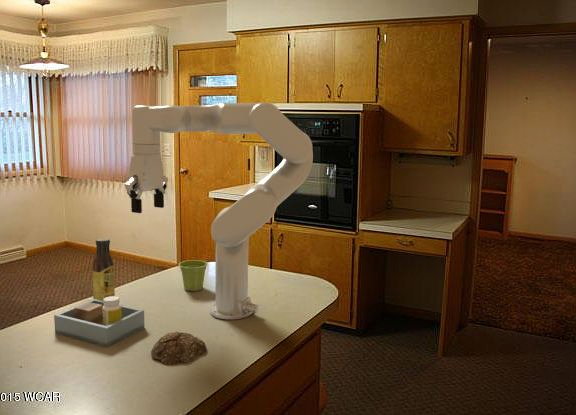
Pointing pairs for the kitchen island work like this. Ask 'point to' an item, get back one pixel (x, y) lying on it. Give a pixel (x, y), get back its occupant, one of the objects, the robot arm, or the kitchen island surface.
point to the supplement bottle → (111, 310)
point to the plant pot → (193, 274)
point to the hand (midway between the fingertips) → (148, 209)
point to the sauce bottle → (103, 271)
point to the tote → (99, 326)
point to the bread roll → (178, 348)
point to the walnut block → (89, 312)
